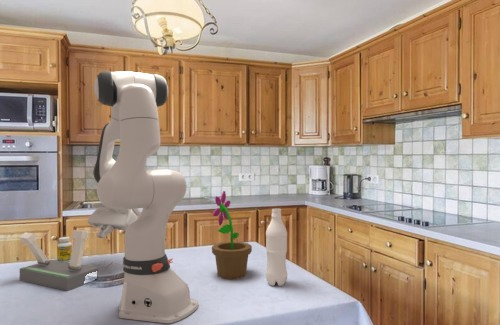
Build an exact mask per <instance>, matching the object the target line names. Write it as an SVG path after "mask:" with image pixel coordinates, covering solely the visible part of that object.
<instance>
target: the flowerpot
mask: <svg viewBox="0 0 500 325" xmlns="http://www.w3.org/2000/svg"><path fill="white" fill-rule="evenodd" d="M226 198H227V194H226V191H225V190H223V192H222V193H221V196H217V195H216V196H215V198H214V199H215V201H214V202H215V204H216V206H217V208H216V209H214V211H213V213H212V215H213V217H218V220H217V221H218V226H221V227H220V228H218V230H217V231H218V233H220V234H223V235H224V234H230V241H223V242H218V243H215V244H214V245H212V246H211V253H212V254H213V255H214V257H215V264H216V271H217V276H218V277H219V278H220V277H221V279H224V280H238V279H237V278H239V279H242V278H244V276H246V275H247V271H248V270H247V268H248V261H249V255H251V253H252V251H253V249H252V248H253V247H252V245H251V244H250V243H248V242H243V241H234V240H235V239H238V237H239V235H240V233H239V232H234V228H233V221H232V217H231V215H230V214H229V210H228V208H229V207H230V206H231V200H228V199H227V200H226ZM218 207H219V208H218ZM224 219H225V220H228V224H227V223H226V224H225V225H223V226H222V224H223V222H224ZM241 277H242V278H241Z"/></svg>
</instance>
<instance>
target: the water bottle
mask: <svg viewBox="0 0 500 325" xmlns="http://www.w3.org/2000/svg"><path fill="white" fill-rule="evenodd" d="M265 237H266V238H265V239H266V241H265V242H266V243H265V245H266V246H265V250H266V257H267V267H266V271H265V277H266V278H265V279H266V281H267V282H268V284H269V285H270V286H272V287H273V286H275V285H276V283H277V285H278V287H281V286H284V285H285V283H286V282H287V280H288V271H287V265H286V262H287V261H286V260H287V258H286V257H287V252H288V231H287V228H286V226H285V223H284V222H283V220H282V209H281V208H271V220H270V223H269V224H268V226H267V228H266V231H265Z"/></svg>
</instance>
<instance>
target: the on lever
mask: <svg viewBox="0 0 500 325" xmlns="http://www.w3.org/2000/svg"><path fill="white" fill-rule="evenodd" d="M18 239H19V240H20V242H22V244H25V245H26V247H27V248H28V249H29V251H30V252H31V254H32V255H33V257H34V258H35V260H36V261H37V263H36V264H38V263H39V264H44V265H49V264H50V260H51V259H49V258H47V256H46V254H45V253H44V251H43V249H42V248H41V246H40V245H39V244H38V242H37V240H38V237H36V235H35V234H34V233H33V232H26V231H25V232H24V233H23V234H21V235H20V236H19V237H18Z"/></svg>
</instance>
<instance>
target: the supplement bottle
mask: <svg viewBox="0 0 500 325" xmlns="http://www.w3.org/2000/svg"><path fill="white" fill-rule="evenodd" d="M72 247H73V242H71V237H70V236H62V237H59V238H58V243H57V245H56V252H57V253H56V257H57V259H56V260H57V261H63V262H68V263H70V259H71V253H72Z"/></svg>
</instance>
